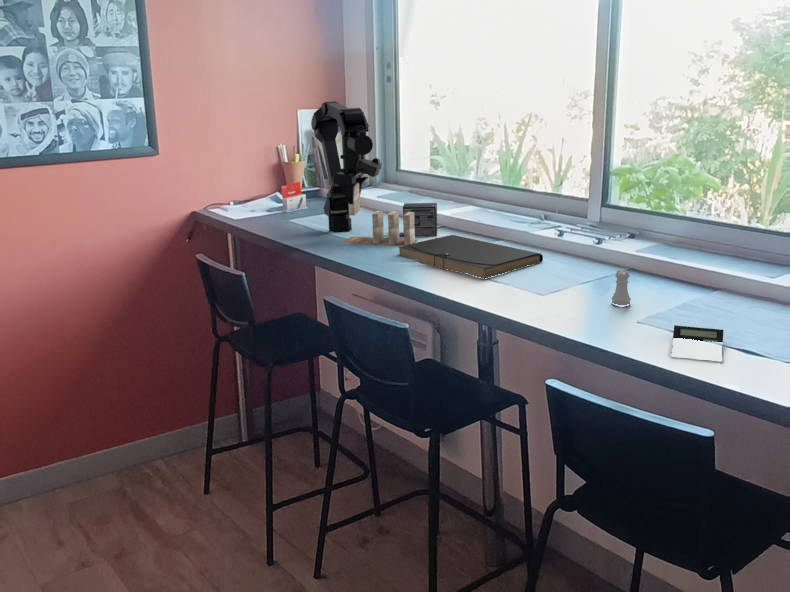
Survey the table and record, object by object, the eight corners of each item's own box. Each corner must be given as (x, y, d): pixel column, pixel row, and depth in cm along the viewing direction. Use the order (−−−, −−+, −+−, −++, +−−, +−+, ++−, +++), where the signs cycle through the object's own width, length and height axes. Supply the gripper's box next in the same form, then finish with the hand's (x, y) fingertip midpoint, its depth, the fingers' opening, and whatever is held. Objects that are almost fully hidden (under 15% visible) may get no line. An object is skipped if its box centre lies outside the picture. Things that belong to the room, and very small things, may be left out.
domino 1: (360, 212, 251) (359, 183, 248) (354, 215, 247) (353, 186, 244) (354, 212, 252) (353, 183, 249) (349, 215, 247) (347, 185, 245)
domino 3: (388, 243, 246) (387, 214, 243) (393, 239, 250) (392, 211, 248) (394, 244, 246) (393, 214, 243) (399, 240, 250) (398, 211, 247)
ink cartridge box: (306, 207, 308) (305, 181, 305) (287, 213, 299) (285, 186, 296) (301, 207, 309) (300, 181, 306) (282, 212, 300) (280, 186, 297)
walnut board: (342, 245, 249) (341, 242, 249) (351, 239, 257) (351, 236, 256) (410, 248, 243) (410, 246, 242) (418, 242, 250) (418, 239, 250)
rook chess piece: (627, 308, 185) (629, 275, 182) (608, 306, 187) (610, 272, 185) (633, 303, 188) (635, 270, 186) (614, 300, 191) (616, 267, 188)
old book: (397, 245, 232) (456, 232, 247) (398, 259, 233) (456, 245, 248) (484, 266, 208) (543, 251, 224) (483, 282, 209) (542, 265, 225)
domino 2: (373, 242, 248) (372, 213, 245) (378, 239, 252) (377, 210, 249) (378, 243, 247) (377, 214, 244) (383, 239, 251) (383, 210, 249)
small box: (438, 234, 260) (437, 202, 256) (437, 239, 253) (436, 206, 250) (405, 234, 261) (404, 202, 258) (403, 239, 254) (402, 206, 251)
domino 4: (404, 244, 245) (403, 215, 242) (409, 240, 249) (408, 211, 246) (410, 244, 244) (409, 215, 241) (414, 241, 248) (414, 212, 246)
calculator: (670, 358, 157) (671, 344, 156) (673, 338, 167) (674, 324, 166) (722, 364, 154) (723, 349, 153) (722, 343, 164) (723, 329, 163)
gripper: (366, 156, 233) (368, 209, 237) (387, 147, 249) (388, 197, 254) (330, 155, 236) (333, 208, 241) (353, 146, 253) (355, 196, 258)
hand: (354, 202), depth 248 cm, fingers closed on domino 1, 5 cm apart
